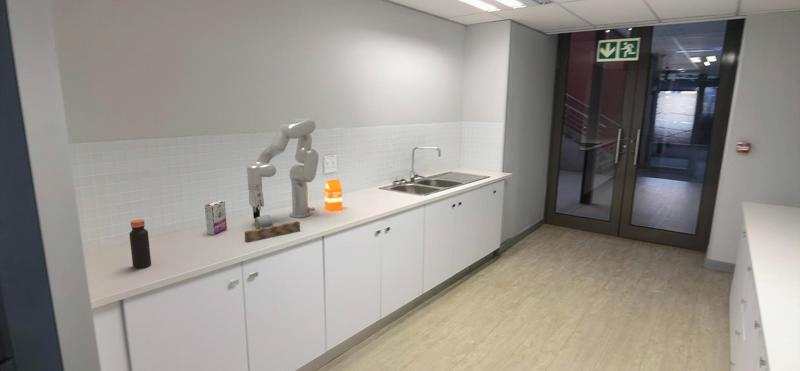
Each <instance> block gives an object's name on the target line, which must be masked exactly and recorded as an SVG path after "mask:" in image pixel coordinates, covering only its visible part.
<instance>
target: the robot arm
mask: <svg viewBox="0 0 800 371" xmlns="http://www.w3.org/2000/svg"><path fill="white" fill-rule="evenodd" d="M315 130H316V123H315V121H314V120H313V119H311V118H303V117H302V118H301V117H298V118H294V119H293V120H292V122H291V123H281V124H280V125H279V127H278V128H277V130H276V133H275V134H274V137H273V138H272V140H271V143H270V144H269V146H267V147H266V148H265V149H264V150H263V151H262V152H261V153H260V154H259V156H258V157H257V159H256V162H255V164H249V165H248V166H246V172H247V190H248V202H249V203H248V204H249V206H251V208H252V212H253V213H252V215H253V219H254V220H255V218H257V217H260V216H261V210H262V207H263V208H264V206H265V201H264V192H263V178H272V177H273V176H275V175H276V174H277V168H276V166H275V165H273V164H270V161H271V160H272V159H274V158H275V157H277V156H279V155H281V154H283V152H285V150H286V148H287V147H288V144H289V142H290V140H291V139H293V140H295V139H297V144H296V150H295V153H294V154H295V156H294V159H295V161H296V162H297V163H300V164H294V165H293V166H292V167H290V170H289V178H290V184H291V204H292V206H291V207H292V212H290V214H289V216H290V217H292V218H300V219H301V218H307V217H310V216H311V215H312V214H311V212H312V211H316V207H311V206H310V207H309V201H308V199H309V198H308V183H311V182H313V181H314V180H315V177H316V175H317V170H318V169H317V168H318V165H319V160H320V159H319V158H320V156H319V153H318V151H317V150H315V149H313V148H312V145H313V137H312V134H313V132H314V131H315ZM302 164H303V165H302Z"/></svg>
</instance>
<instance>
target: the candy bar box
mask: <svg viewBox="0 0 800 371" xmlns="http://www.w3.org/2000/svg"><path fill="white" fill-rule="evenodd" d="M204 210H205V211H204V212H205V213H204V214H205V223H206V232H207V233H206V234H207V235H209V236H216V235H218V234H221V233H223V232H224V231H226V230H228V227H227V226H228V225H227V217H226V216H227V215H226V213H227V211H226V202H225V200H214V201H212V202H209V203H207V204H204Z"/></svg>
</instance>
